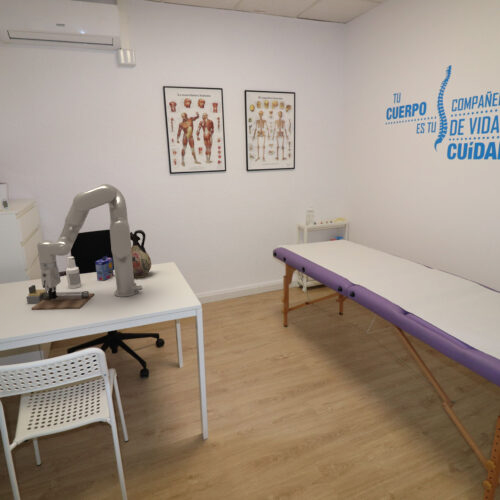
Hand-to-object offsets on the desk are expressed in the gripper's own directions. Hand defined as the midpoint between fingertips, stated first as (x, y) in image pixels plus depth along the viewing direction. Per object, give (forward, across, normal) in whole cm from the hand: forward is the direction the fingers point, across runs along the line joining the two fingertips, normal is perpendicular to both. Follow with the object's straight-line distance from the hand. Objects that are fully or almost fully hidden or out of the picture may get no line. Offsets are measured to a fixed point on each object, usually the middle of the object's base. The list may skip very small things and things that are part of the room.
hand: (53, 298), depth 186 cm
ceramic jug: (+1, +41, -34) cm, 53 cm away
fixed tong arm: (+1, +5, -4) cm, 7 cm away
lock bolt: (-1, +4, +10) cm, 11 cm away
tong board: (+2, +1, -5) cm, 6 cm away
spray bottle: (+3, +24, 0) cm, 24 cm away
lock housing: (+3, +4, +10) cm, 11 cm away
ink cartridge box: (+2, +38, -14) cm, 40 cm away
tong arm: (+1, +4, -5) cm, 7 cm away
